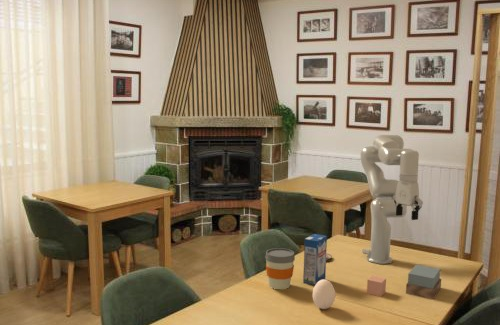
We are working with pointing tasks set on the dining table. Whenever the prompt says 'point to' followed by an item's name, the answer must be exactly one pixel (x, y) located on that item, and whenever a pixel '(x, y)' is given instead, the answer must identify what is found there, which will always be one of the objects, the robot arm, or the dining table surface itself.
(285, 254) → the reusable coffee cup
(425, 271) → the slate top block
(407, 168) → the robot arm
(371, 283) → the terracotta block
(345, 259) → the dining table surface
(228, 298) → the dining table surface
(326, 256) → the burger
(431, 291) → the walnut base block
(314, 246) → the milk carton
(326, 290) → the egg
